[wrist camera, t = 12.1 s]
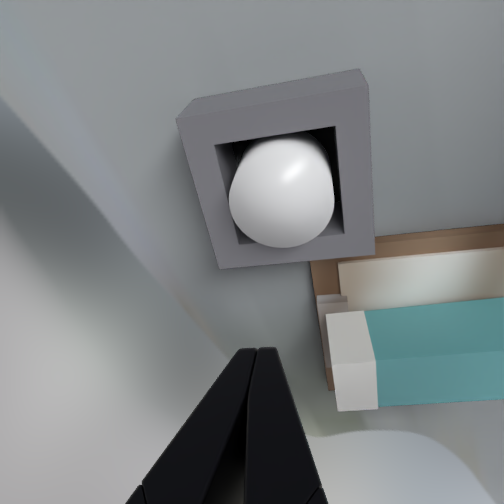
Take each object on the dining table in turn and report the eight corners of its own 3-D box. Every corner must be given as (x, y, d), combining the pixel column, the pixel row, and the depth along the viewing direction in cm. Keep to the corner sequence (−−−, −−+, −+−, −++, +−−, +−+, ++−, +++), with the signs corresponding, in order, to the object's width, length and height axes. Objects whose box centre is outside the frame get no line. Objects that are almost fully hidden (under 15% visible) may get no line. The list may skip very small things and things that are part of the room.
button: (326, 119, 17) (329, 144, 14) (334, 207, 19) (338, 242, 16) (230, 135, 17) (217, 161, 15) (249, 217, 19) (240, 252, 17)
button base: (359, 68, 16) (368, 85, 14) (367, 220, 20) (375, 254, 18) (194, 99, 18) (175, 118, 15) (229, 235, 21) (219, 269, 19)
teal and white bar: (573, 289, 20) (622, 342, 17) (558, 340, 22) (600, 395, 19) (325, 314, 22) (331, 364, 19) (331, 358, 24) (337, 411, 21)
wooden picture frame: (646, 209, 18) (667, 223, 17) (586, 374, 24) (599, 393, 23) (308, 243, 21) (308, 257, 20) (328, 383, 27) (329, 399, 26)
